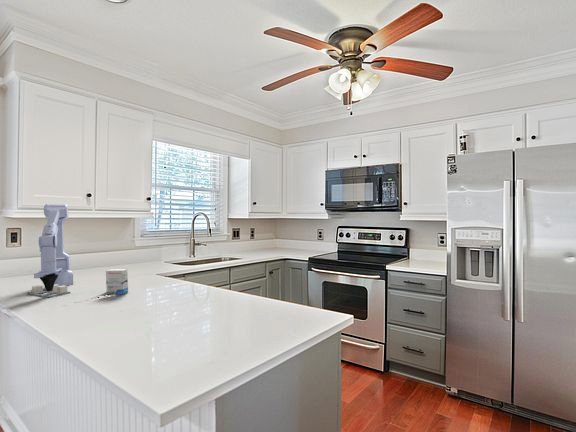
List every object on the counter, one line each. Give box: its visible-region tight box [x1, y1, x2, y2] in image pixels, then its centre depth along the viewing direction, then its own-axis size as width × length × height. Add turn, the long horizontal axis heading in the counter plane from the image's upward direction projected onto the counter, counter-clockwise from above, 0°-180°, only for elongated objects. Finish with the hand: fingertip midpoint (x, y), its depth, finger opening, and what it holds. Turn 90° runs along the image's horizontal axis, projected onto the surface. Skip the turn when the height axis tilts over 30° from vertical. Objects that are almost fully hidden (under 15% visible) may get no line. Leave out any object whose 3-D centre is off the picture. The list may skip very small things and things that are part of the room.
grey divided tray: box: [27, 288, 71, 299], centre depth 163 cm, size 10×17×2 cm, turn 62°
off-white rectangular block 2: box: [57, 285, 68, 294], centre depth 163 cm, size 3×3×4 cm
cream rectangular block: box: [49, 284, 60, 293], centre depth 166 cm, size 3×3×4 cm
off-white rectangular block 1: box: [31, 284, 44, 293], centre depth 164 cm, size 3×3×4 cm
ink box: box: [105, 268, 129, 296], centre depth 168 cm, size 9×5×12 cm, turn 84°
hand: (49, 291), depth 158 cm, fingers closed
